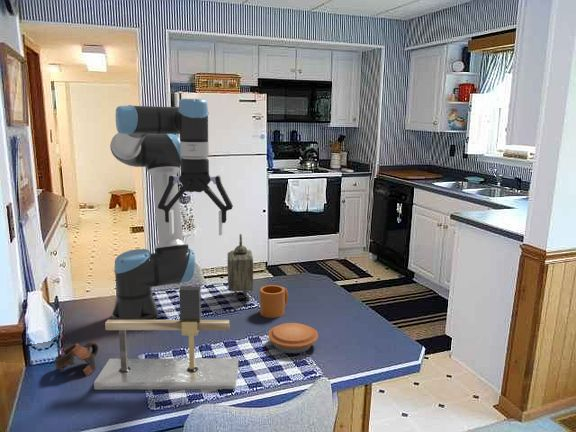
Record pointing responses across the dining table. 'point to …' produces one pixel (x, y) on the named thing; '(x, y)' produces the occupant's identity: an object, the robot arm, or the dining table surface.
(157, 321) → the bar
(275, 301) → the mug
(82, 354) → the broken clay pot
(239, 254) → the tabletop clock
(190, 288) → the block
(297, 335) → the pie
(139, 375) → the hole plate
